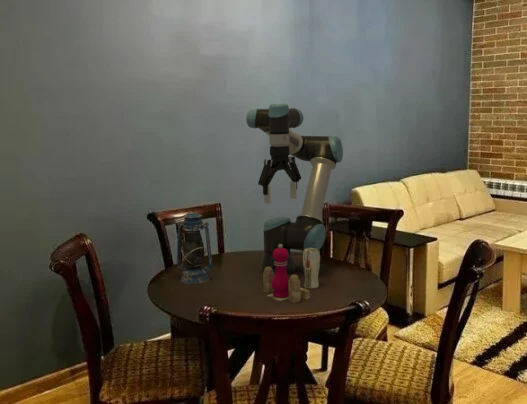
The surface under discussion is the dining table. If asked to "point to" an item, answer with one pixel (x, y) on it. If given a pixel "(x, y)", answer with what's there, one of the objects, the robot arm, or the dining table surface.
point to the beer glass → (311, 267)
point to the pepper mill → (280, 273)
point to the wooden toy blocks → (294, 289)
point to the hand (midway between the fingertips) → (280, 200)
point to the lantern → (193, 249)
